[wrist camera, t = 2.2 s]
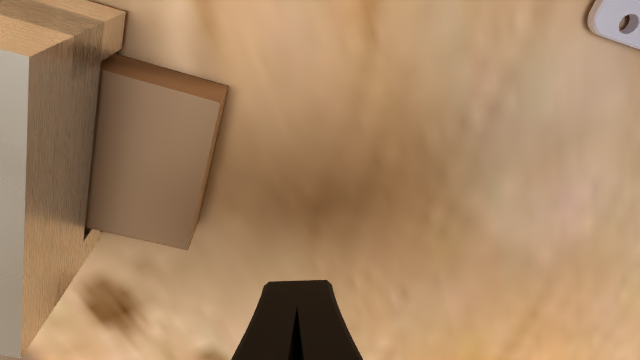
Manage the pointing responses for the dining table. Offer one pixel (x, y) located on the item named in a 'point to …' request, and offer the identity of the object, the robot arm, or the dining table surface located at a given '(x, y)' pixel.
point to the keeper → (46, 152)
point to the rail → (151, 151)
